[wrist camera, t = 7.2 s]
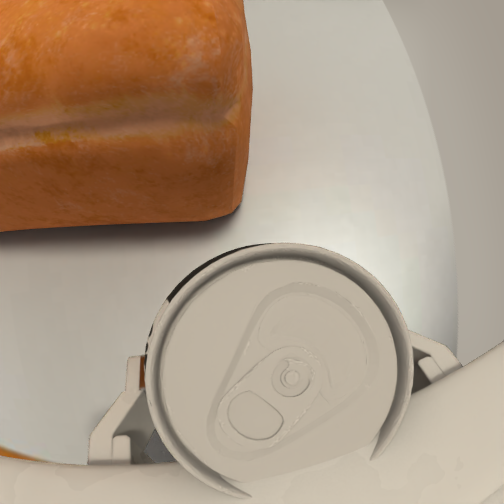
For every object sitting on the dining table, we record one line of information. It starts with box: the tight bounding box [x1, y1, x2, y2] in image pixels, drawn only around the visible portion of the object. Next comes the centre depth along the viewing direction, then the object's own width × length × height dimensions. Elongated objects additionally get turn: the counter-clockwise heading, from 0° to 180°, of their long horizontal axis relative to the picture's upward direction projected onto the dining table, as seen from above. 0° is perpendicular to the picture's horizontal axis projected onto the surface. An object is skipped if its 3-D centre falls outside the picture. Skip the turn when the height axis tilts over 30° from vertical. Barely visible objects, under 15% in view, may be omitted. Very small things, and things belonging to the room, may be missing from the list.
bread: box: [0, 0, 253, 232], centre depth 13 cm, size 14×26×16 cm, turn 93°
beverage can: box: [144, 243, 414, 499], centre depth 11 cm, size 7×7×12 cm
